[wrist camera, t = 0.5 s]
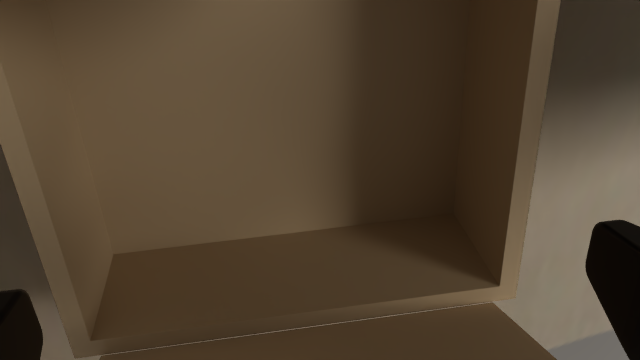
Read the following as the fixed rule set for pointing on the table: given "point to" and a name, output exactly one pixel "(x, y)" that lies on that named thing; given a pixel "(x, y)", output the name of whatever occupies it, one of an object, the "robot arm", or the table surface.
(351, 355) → the flap
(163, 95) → the carton
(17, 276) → the table surface
